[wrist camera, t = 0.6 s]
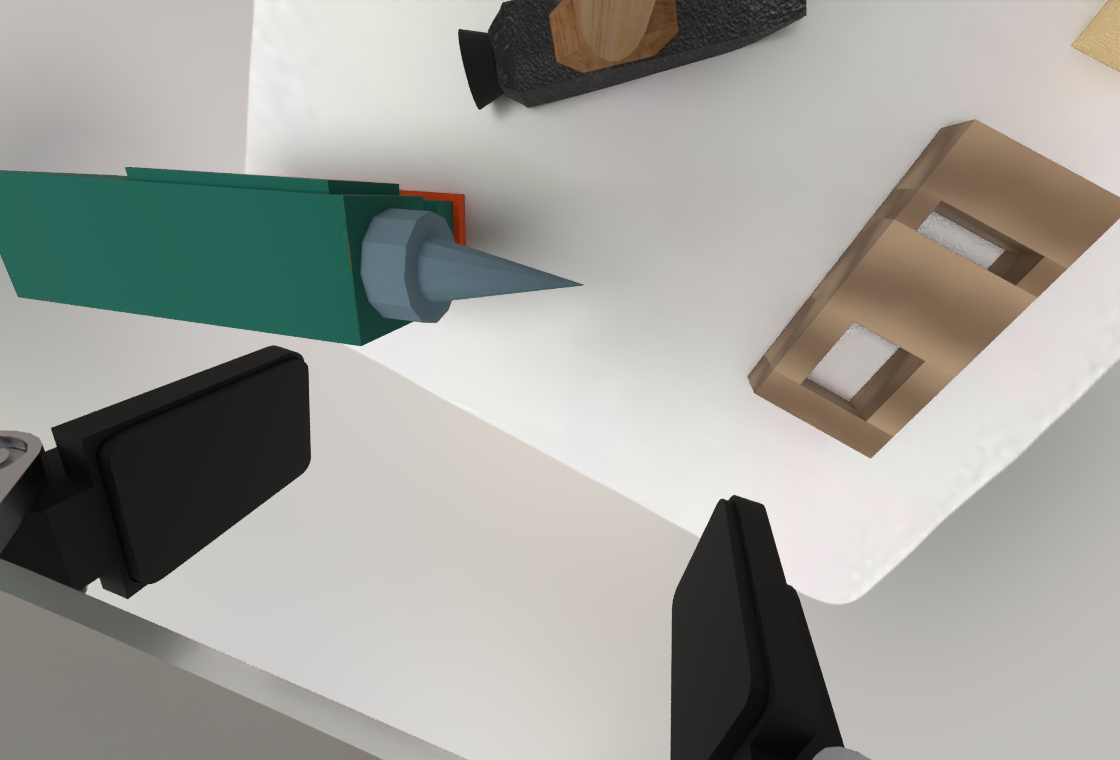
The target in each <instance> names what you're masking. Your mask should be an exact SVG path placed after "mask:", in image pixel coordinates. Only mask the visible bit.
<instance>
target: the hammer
mask: <svg viewBox="0 0 1120 760" xmlns="http://www.w3.org/2000/svg"><path fill="white" fill-rule="evenodd" d="M804 16H806V0H511V1H507V2H503V3H502V6H501V8H500V11H499V12H498V14H497V15H496V17H495V19H494V20H493V22H492V24H491V26H490V28H489V30H488V33H484V32H477V31H470V30H462V29H459V31H458V36H459V45H460V51H461V56H462V61H463V65H464V69H465V73H466V77H467V80H468V84H469V87H470V90H471V93H472V96H473V99H474V101H475V103H476V106H477V107H478V109H479V110H481V109H482V108H484V107H485V106H486V105H488V104H489V103H491V102H492V101H494V100H495V99H497V98H498V97H500V96H501V95H503V94H504V93H505V95H506V96H508V97H510V98H511V99H513V100H515V101H517V102H519V103H522V104H523V105H525V106H526V107H527V108H528V107H532V106H536V105H540V104H544V103H548V102H552V101H556V100H560V99H564V98H568V97H572V96H576V95H580V94H584V93H588V92H592V91H596V90H600V89H603V88H607V87H610V86H614V85H617V84H621V83H624V82H628V81H631V80H634V79H638V78H641V77H645V76H648V75H652V74H655V73H659V72H662V71H665V70H669V69H672V68H676V67H679V66H683V65H686V64H690V63H693V62H697V61H700V60H704V59H707V58H711V57H714V56H718V55H721V54H724V53H727V52H730V51H733V50H736V49H739V48H741V47H744V46H746V45H749V44H751V43H754V42H756V41H758V40H760V39H762V38H764V37H766V36H768V35H770V34H772V33H774V32H776V31H778V30H780V29H782V28H783V27H785V26H787V25H789V24H791V23H793V22H795V21H797V20H799V19H801V18H803V17H804Z"/></svg>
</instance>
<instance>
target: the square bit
mask: <svg viewBox="0 0 1120 760" xmlns="http://www.w3.org/2000/svg"><path fill="white" fill-rule="evenodd" d="M1072 47H1074V48H1076V49H1078V50H1080V51H1081V52H1083V53H1085V54H1087V55H1089V56H1091V57H1093V58H1095V59H1096V60H1098V61H1100V62H1102V63H1104V64H1106V65H1108V66H1110V67H1111V68H1113V69H1115V70H1117V71H1119V72H1120V0H1109V1H1108V3H1107V4H1106V5H1105V6H1104V7H1103V9H1102V10H1101V11H1100V12H1099V13H1098V15H1097V16H1096V17H1095V18H1094V19H1093V21H1092V22H1091V23H1090V24H1089V25H1088V27H1087V28H1086V29H1085V30H1084V31H1083V32H1082V34H1081V35H1080V36H1079V37H1078V38H1077V40H1076V41H1075V42H1074V43H1073V44H1072Z"/></svg>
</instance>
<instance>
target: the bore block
mask: <svg viewBox="0 0 1120 760" xmlns="http://www.w3.org/2000/svg"><path fill="white" fill-rule="evenodd" d="M932 211H935V212H936V213H938V214H940V215H942V216H944V217H946V218H947V219H949V220H951V221H953V222H955V223H957V224H958V225H960V226H962V227H964V228H966V229H967V230H969V231H971V232H973V233H975V234H977V235H978V236H980V237H982V238H984V239H986V240H988V241H989V242H991V243H993V244H995V245H997V246H999V247H1000V248H1002V249H1004V250H1006V251H1005V252H1004V253H1003V254H1002V255H1001V256H1000V257H999V258H998V259H997V260H996V261H995V262H994V264H993V265H992V266H991V267H990V268H989V269H988V270H986V269H984V268H982V267H981V266H979V265H977V264H975V263H973V262H971V261H970V260H968V259H966V258H964V257H962V256H960V255H959V254H957V253H955V252H953V251H951V250H949V249H948V248H946V247H944V246H942V245H940V244H939V243H937V242H935V241H933V240H931V239H929V238H928V237H926V236H924V235H922V234H920V233H918V232H917V231H916V230H917V229H918V228H919V227H920V225H921V224H922V223H923V222H924V221H925V220H926V218H927V217H928V216H929V215H930V214H931V212H932ZM1119 218H1120V197H1118V196H1116V195H1114V194H1113V193H1111V192H1109V191H1107V190H1105V189H1103V188H1101V187H1100V186H1098V185H1096V184H1094V183H1092V182H1090V181H1088V180H1087V179H1085V178H1083V177H1081V176H1079V175H1077V174H1075V173H1074V172H1072V171H1070V170H1068V169H1066V168H1064V167H1063V166H1061V165H1059V164H1057V163H1055V162H1053V161H1051V160H1050V159H1048V158H1046V157H1044V156H1042V155H1040V154H1038V153H1037V152H1035V151H1033V150H1031V149H1029V148H1027V147H1025V146H1024V145H1022V144H1020V143H1018V142H1016V141H1014V140H1013V139H1011V138H1009V137H1007V136H1005V135H1003V134H1001V133H1000V132H998V131H996V130H994V129H992V128H990V127H988V126H987V125H985V124H983V123H981V122H979V121H977V120H971V121H967V122H963V123H959V124H956V125H952V126H948V127H944V128H941V130H940V131H939V132H938V133H937V135H936V136H935V137H934V139H933V140H932V141H931V142H930V144H929V145H928V146H927V148H926V149H925V150H924V151H923V153H922V154H921V155H920V157H919V158H918V159H917V160H916V162H915V163H914V164H913V166H912V167H911V168H910V169H909V171H908V172H907V173H906V174H905V176H904V177H903V178H902V180H901V181H900V182H899V183H898V185H897V186H896V187H895V189H894V190H893V191H892V192H891V194H890V195H889V196H888V198H887V199H886V200H885V201H884V203H883V204H882V205H881V206H880V208H879V209H878V210H877V212H876V213H875V214H874V215H873V217H872V218H871V219H870V221H869V222H868V223H867V224H866V226H865V227H864V228H863V230H862V231H861V232H860V233H859V235H858V236H857V237H856V238H855V240H854V241H853V242H852V244H851V245H850V246H849V247H848V249H847V250H846V251H845V253H844V254H843V255H842V256H841V258H840V259H839V260H838V262H837V263H836V264H835V265H834V267H833V268H832V269H831V270H830V272H829V273H828V274H827V276H826V277H825V278H824V279H823V281H822V282H821V283H820V285H819V286H818V287H817V288H816V290H815V291H814V292H813V294H812V295H811V296H810V297H809V299H808V300H807V301H806V302H805V304H804V305H803V306H802V308H801V309H800V310H799V311H798V313H797V314H796V315H795V317H794V318H793V319H792V320H791V322H790V323H789V324H788V326H787V327H786V328H785V329H784V331H783V332H782V333H781V335H780V336H779V337H778V338H777V340H776V341H775V342H774V343H773V345H772V346H771V347H770V349H769V350H768V351H767V352H766V354H765V355H764V356H763V358H762V359H761V360H760V361H759V363H758V364H757V365H756V367H755V368H754V369H753V370H752V372H751V373H750V374H749V375H748V379H749V381H750V384H751V386H752V389H753V391H754V393H755V394H757V395H758V396H760V397H762V398H764V399H766V400H767V401H769V402H771V403H773V404H774V405H776V406H778V407H780V408H782V409H783V410H785V411H787V412H789V413H791V414H792V415H794V416H796V417H798V418H799V419H801V420H803V421H805V422H807V423H808V424H810V425H812V426H814V427H815V428H817V429H819V430H821V431H823V432H824V433H826V434H828V435H830V436H831V437H833V438H835V439H837V440H839V441H840V442H842V443H844V444H846V445H848V446H849V447H851V448H853V449H855V450H856V451H858V452H860V453H862V454H864V455H865V456H867V457H869V458H872V457H873V456H874V455H875V454H876V453H877V452H878V451H879V450H880V449H881V448H882V447H883V446H884V445H885V444H886V443H887V442H888V441H889V440H890V439H891V438H892V437H894V436H895V435H896V434H897V433H898V432H899V431H900V430H901V429H902V428H903V427H904V426H905V425H906V424H907V423H908V422H909V421H910V420H911V419H912V418H913V417H914V416H915V415H916V414H917V413H918V412H919V411H920V410H921V409H923V408H924V407H925V406H926V405H927V404H928V403H929V402H930V401H931V400H932V399H933V398H934V397H935V396H936V395H937V394H938V393H939V392H940V391H941V390H942V389H943V388H944V387H945V386H946V385H947V384H948V383H949V382H950V381H952V380H953V379H954V378H955V377H956V376H957V375H958V374H959V373H960V372H961V371H962V370H963V369H964V368H965V367H966V366H967V365H968V364H969V363H970V362H971V361H972V360H973V359H974V358H975V357H976V356H977V355H978V354H980V353H981V352H982V351H983V350H984V349H985V348H986V347H987V346H988V345H989V344H990V343H991V342H992V341H993V340H994V339H995V338H996V337H997V336H998V335H999V334H1000V333H1001V332H1002V331H1003V330H1004V329H1005V328H1006V327H1007V326H1009V325H1010V324H1011V323H1012V322H1013V321H1014V320H1015V319H1016V318H1017V317H1018V316H1019V315H1020V314H1021V313H1022V312H1023V311H1024V310H1025V309H1026V308H1027V307H1028V306H1029V305H1030V304H1031V303H1032V302H1033V301H1034V300H1035V299H1036V298H1038V297H1039V296H1040V295H1041V294H1042V293H1043V292H1044V291H1045V290H1046V289H1047V288H1048V287H1049V286H1050V285H1051V284H1052V283H1053V282H1054V281H1055V280H1056V279H1057V278H1058V277H1059V276H1060V275H1061V274H1062V273H1063V272H1064V271H1066V270H1067V269H1068V268H1069V267H1070V266H1071V265H1072V264H1073V263H1074V262H1075V261H1076V260H1077V259H1078V258H1079V257H1080V256H1081V255H1082V254H1083V253H1084V252H1085V251H1086V250H1087V249H1088V248H1089V247H1090V246H1091V245H1092V244H1093V243H1095V242H1096V241H1097V240H1098V239H1099V238H1100V237H1101V236H1102V235H1103V234H1104V233H1105V232H1106V231H1107V230H1108V229H1109V228H1110V227H1111V226H1112V225H1113V224H1114V223H1115V222H1116V221H1117V220H1118V219H1119ZM853 322H856V323H858V324H859V325H861V326H863V327H865V328H867V329H868V330H870V331H872V332H874V333H876V334H877V335H879V336H881V337H883V338H885V339H886V340H888V341H890V342H892V343H894V344H895V345H897V346H899V347H900V348H899V349H898V350H897V351H896V353H895V354H894V355H893V356H892V357H891V358H890V359H889V360H888V361H887V362H886V363H885V364H884V365H883V366H882V367H881V369H880V370H879V371H878V372H877V373H876V374H875V375H874V376H873V377H872V378H871V379H870V380H869V381H868V382H867V384H866V385H865V386H864V387H863V388H862V389H861V390H860V391H859V392H858V393H857V394H856V395H855V396H854V397H853V399H852V400H851V401H850V402H849V401H847V400H845V399H843V398H841V397H840V396H838V395H836V394H834V393H832V392H831V391H829V390H827V389H825V388H823V387H822V386H820V385H818V384H816V383H815V382H813V381H811V380H809V379H807V378H806V377H807V376H808V375H809V374H810V373H811V372H812V370H813V369H814V368H815V367H816V366H817V364H818V363H819V362H820V361H821V360H822V359H823V357H824V356H825V355H826V354H827V353H828V352H829V350H830V349H831V348H832V347H833V346H834V345H835V343H836V342H837V341H838V340H839V339H840V338H841V336H842V335H843V334H844V333H845V332H846V331H847V329H848V328H849V327H850V326H851V325H852V324H853Z"/></svg>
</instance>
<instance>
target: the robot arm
mask: <svg viewBox="0 0 1120 760" xmlns="http://www.w3.org/2000/svg"><path fill="white" fill-rule="evenodd" d="M51 430H52V433H53V436H54V439H55V442H56V445H57V447H56V448H53V449H51V450H48V451H46V452H45V451H44V448H43V445H42V443H41V441H40V439H39V438H38V437H36V436H34V435H32V434H30V433H25V432H19V431H0V760H467V759H465V758H463V757H460V756H458V755H456V754H454V753H452V752H449V751H447V750H445V749H442V748H440V747H438V746H436V745H433V744H431V743H429V742H426V741H424V740H422V739H419V738H417V737H415V736H413V735H410V734H408V733H406V732H404V731H401V730H399V729H397V728H395V727H392V726H390V725H388V724H386V723H383V722H381V721H379V720H376V719H374V718H372V717H370V716H367V715H365V714H363V713H361V712H358V711H356V710H354V709H351V708H349V707H347V706H345V705H342V704H340V703H338V702H335V701H333V700H331V699H328V698H326V697H324V696H322V695H319V694H317V693H315V692H312V691H310V690H308V689H305V688H303V687H301V686H298V685H296V684H294V683H291V682H289V681H287V680H285V679H282V678H280V677H277V676H275V675H273V674H271V673H268V672H266V671H264V670H262V669H259V668H257V667H254V666H252V665H250V664H247V663H245V662H243V661H241V660H238V659H236V658H234V657H231V656H229V655H226V654H224V653H222V652H220V651H218V650H215V649H213V648H211V647H208V646H206V645H204V644H201V643H199V642H197V641H194V640H192V639H190V638H187V637H185V636H183V635H180V634H178V633H176V632H173V631H171V630H169V629H167V628H164V627H162V626H159V625H157V624H155V623H152V622H150V621H148V620H145V619H143V618H141V617H138V616H136V615H134V614H131V613H129V612H127V611H124V610H122V609H119V608H117V607H115V606H112V605H110V604H108V603H105V602H103V601H101V600H98V599H96V598H93V597H91V596H89V595H87V594H85V593H86V591H87V587H88V584H90V583H91V582H93V581H94V580H96V579H97V578H100V580H101V584H102V587H103V589H105V590H108V591H110V592H112V593H115V594H118V595H120V596H122V597H124V598H126V599H129V598H130V597H131V596H133V595H134V594H135V593H137V592H138V591H139V590H141V589H142V588H143V587H145V586H146V585H147V584H153V583H156V582H158V581H159V580H161V579H163V578H164V577H165V576H167V575H168V574H169V573H171V572H172V571H173V570H175V569H176V568H177V567H179V566H180V565H181V564H183V563H184V562H185V561H187V560H188V559H189V558H191V557H192V556H193V555H195V554H196V553H197V552H199V551H200V550H201V549H203V548H204V547H205V546H207V545H208V544H209V543H211V542H212V541H213V540H215V539H216V538H217V537H219V536H220V535H221V534H223V533H224V532H225V531H227V530H228V529H229V528H231V527H232V526H233V525H235V524H236V523H237V522H239V521H240V520H241V519H243V518H244V517H245V516H247V515H248V514H249V513H251V512H252V511H253V510H255V509H256V508H257V507H259V506H260V505H261V504H263V503H264V502H265V501H267V500H268V499H269V498H271V497H272V496H273V495H275V494H276V493H277V492H279V491H280V490H281V489H283V488H284V487H285V486H287V485H288V484H289V483H291V482H292V481H293V480H295V479H296V478H297V477H299V476H300V475H301V474H303V473H304V472H305V470H306V469H307V468H308V466H309V464H310V460H311V445H310V410H309V373H308V365H307V364H306V363H305V362H304V359H303V357H302V355H300V354H299V353H297V352H294V351H291V350H288V349H285V348H282V347H278V346H269V347H266V348H263V349H261V350H258V351H255V352H252V353H250V354H248V355H244V356H242V357H239V358H237V359H234V360H231V361H228V362H226V363H223V364H220V365H218V366H215V367H213V368H210V369H207V370H204V371H202V372H199V373H196V374H194V375H191V376H189V377H186V378H183V379H180V380H178V381H175V382H172V383H170V384H167V385H165V386H162V387H159V388H156V389H154V390H151V391H149V392H146V393H143V394H140V395H138V396H135V397H132V398H130V399H127V400H124V401H122V402H119V403H117V404H114V405H111V406H109V407H106V408H103V409H101V410H98V411H95V412H92V413H90V414H87V415H84V416H82V417H79V418H77V419H74V420H71V421H68V422H66V423H63V424H61V425H58V426H55V427H52V428H51ZM671 665H672V666H671V668H672V669H671V760H870V759H869V758H867V757H865V756H863V755H862V754H860V753H859V752H857V751H853V750H850V749H847V748H845V747H844V744H843V741H842V737H841V734H840V731H839V728H838V724H837V721H836V718H835V714H834V711H833V708H832V705H831V701H830V698H829V695H828V691H827V688H826V685H825V681H824V678H823V675H822V672H821V669H820V665H819V662H818V658H817V656H816V652H815V649H814V645H813V642H812V639H811V635H810V632H809V629H808V626H807V622H806V619H805V616H804V612H803V609H802V606H801V602H800V599H799V597H798V594H797V592H796V590H795V589H794V588H793V587H792V586H790V585H787V583H786V579H785V576H784V572H783V569H782V565H781V562H780V558H779V555H778V551H777V548H776V544H775V541H774V537H773V534H772V530H771V526H770V523H769V519H768V516H767V512H766V509H765V507H764V505H763V504H760V503H757V502H754V501H751V500H748V499H745V498H742V497H739V496H736V495H733V496H732V497H731V498H730V499H729V500H725V499H720V500H719V502H718V503H717V505H716V507H715V509H714V512H713V514H712V516H711V518H710V520H709V522H708V524H707V526H706V528H705V530H704V532H703V534H702V536H701V539H700V541H699V543H698V545H697V547H696V549H695V551H694V553H693V555H692V557H691V559H690V562H689V564H688V566H687V568H686V570H685V572H684V574H683V576H682V578H681V580H680V582H679V584H678V586H677V589H676V591H675V594H674V599H673V604H672V664H671Z"/></svg>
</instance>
